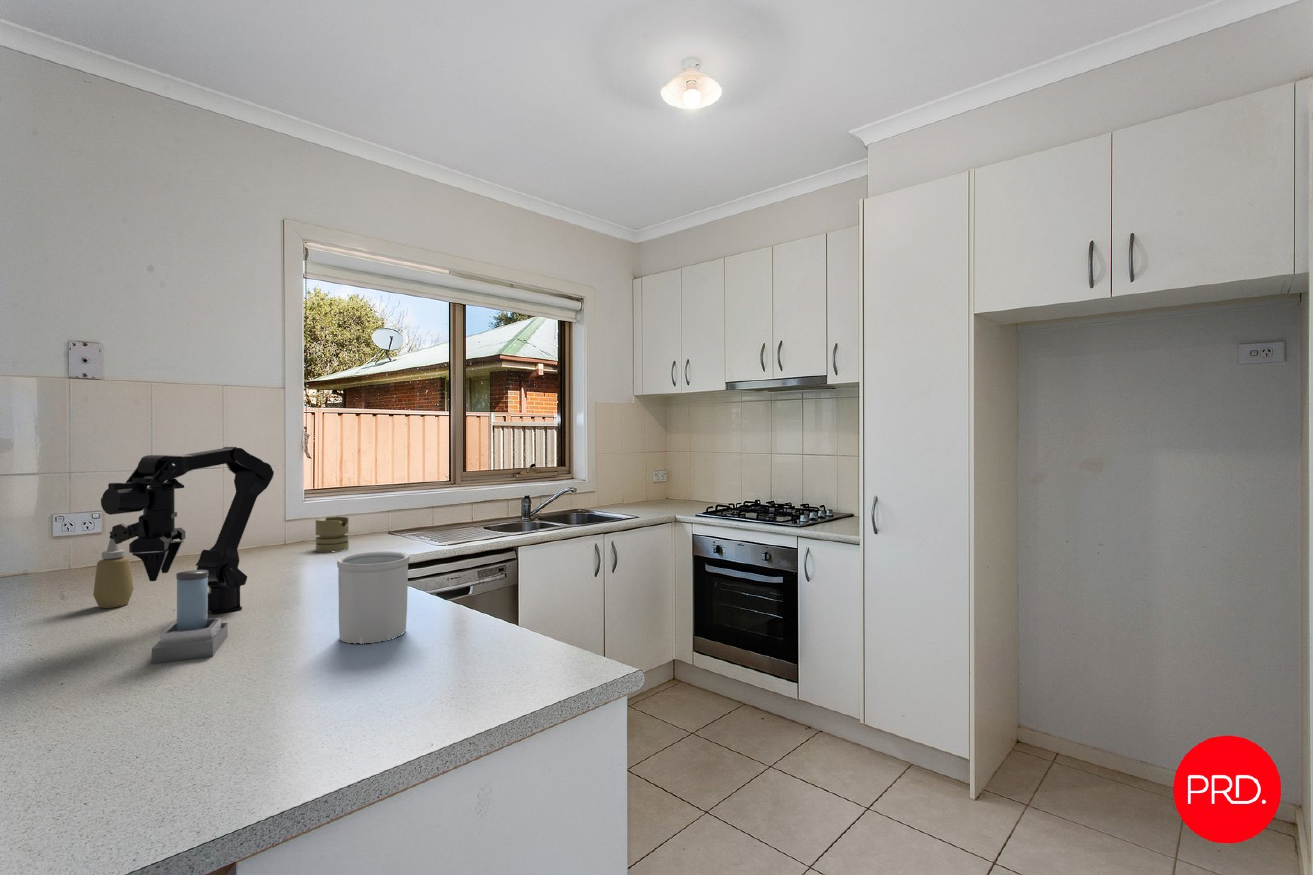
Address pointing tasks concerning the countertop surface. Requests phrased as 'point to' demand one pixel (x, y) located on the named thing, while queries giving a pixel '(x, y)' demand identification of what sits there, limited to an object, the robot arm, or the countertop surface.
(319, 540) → the piston
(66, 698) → the countertop surface
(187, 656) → the gray rectangular open-top holder
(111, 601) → the squeeze bottle
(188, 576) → the capped blue cylinder
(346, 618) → the utensil holder
